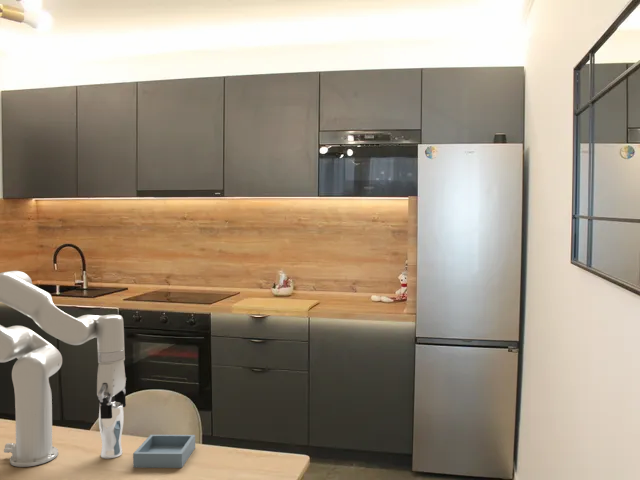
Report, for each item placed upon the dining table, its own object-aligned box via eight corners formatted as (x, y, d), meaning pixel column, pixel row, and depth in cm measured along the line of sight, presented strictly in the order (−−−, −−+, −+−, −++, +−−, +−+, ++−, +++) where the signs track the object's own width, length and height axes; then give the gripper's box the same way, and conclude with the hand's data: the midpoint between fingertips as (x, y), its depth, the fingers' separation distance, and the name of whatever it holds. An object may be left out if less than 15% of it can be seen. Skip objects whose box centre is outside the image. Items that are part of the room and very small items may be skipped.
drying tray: (133, 467, 148) (133, 453, 148) (150, 447, 162) (150, 434, 162) (181, 467, 147) (181, 453, 147) (195, 447, 161) (195, 434, 161)
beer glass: (115, 460, 153) (114, 409, 152) (94, 458, 154) (93, 408, 154) (128, 450, 159) (128, 402, 159) (108, 449, 161) (107, 400, 161)
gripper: (111, 350, 165) (113, 403, 165) (85, 363, 148) (87, 423, 148) (134, 349, 165) (136, 402, 165) (111, 363, 148) (113, 422, 148)
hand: (113, 412), depth 157 cm, fingers open, 9 cm apart
